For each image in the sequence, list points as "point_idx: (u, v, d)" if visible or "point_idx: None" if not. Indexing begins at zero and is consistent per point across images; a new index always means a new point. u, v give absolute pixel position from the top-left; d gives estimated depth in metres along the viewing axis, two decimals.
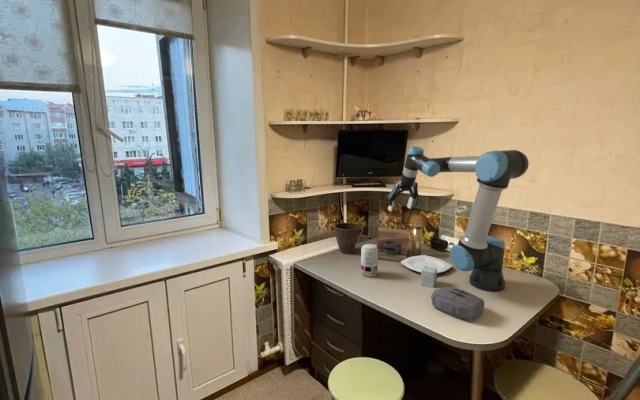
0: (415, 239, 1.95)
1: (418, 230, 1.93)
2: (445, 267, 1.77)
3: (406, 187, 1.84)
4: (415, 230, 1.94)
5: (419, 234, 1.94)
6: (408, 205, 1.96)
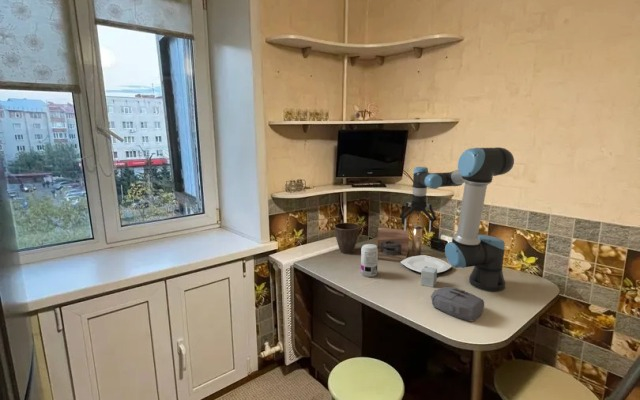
0: (415, 239, 1.95)
1: (418, 230, 1.93)
2: (445, 267, 1.77)
3: (416, 206, 1.91)
4: (415, 230, 1.94)
5: (419, 234, 1.94)
6: (429, 229, 1.94)
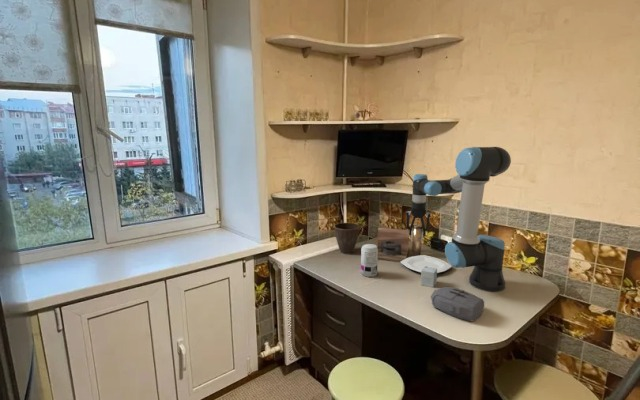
0: (415, 239, 1.95)
1: (418, 230, 1.93)
2: (445, 267, 1.77)
3: (415, 213, 1.92)
4: (415, 230, 1.94)
5: (419, 234, 1.94)
6: (421, 239, 1.96)
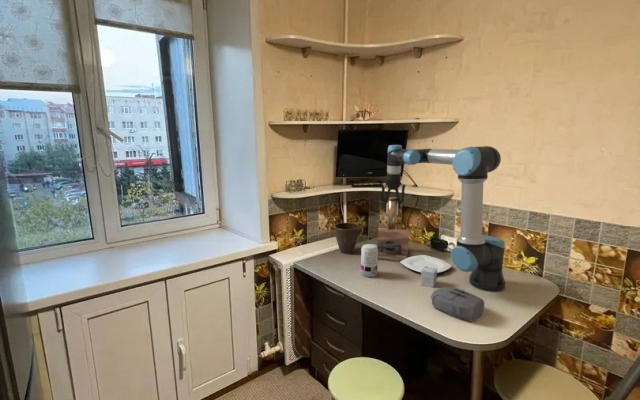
0: (390, 211, 1.92)
1: (393, 202, 1.91)
2: (445, 267, 1.77)
3: (390, 185, 1.90)
4: (390, 202, 1.92)
5: (394, 206, 1.91)
6: None
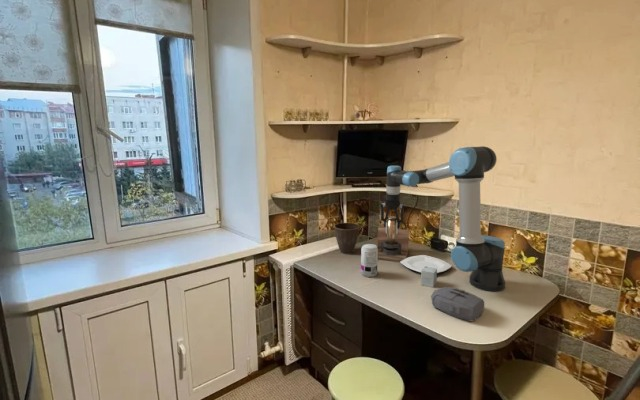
0: (389, 231, 1.95)
1: (392, 222, 1.93)
2: (445, 267, 1.77)
3: (389, 205, 1.92)
4: (389, 222, 1.94)
5: (393, 226, 1.94)
6: (396, 231, 1.96)
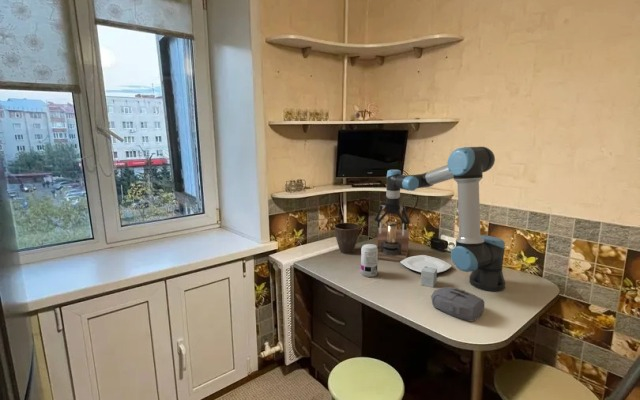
0: (389, 236, 1.95)
1: (392, 227, 1.94)
2: (445, 267, 1.77)
3: (389, 208, 1.92)
4: (389, 227, 1.94)
5: (393, 231, 1.94)
6: None
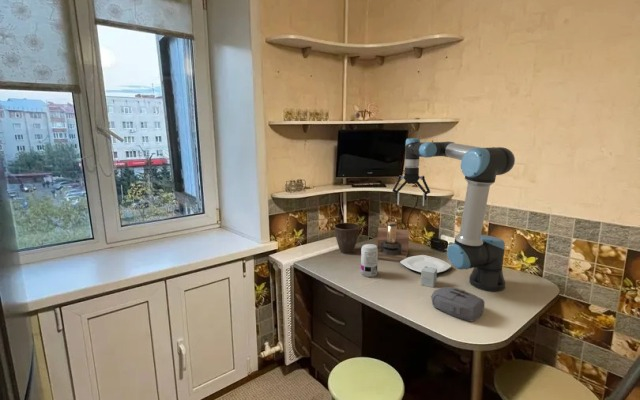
0: (389, 236, 1.95)
1: (392, 227, 1.94)
2: (444, 267, 1.77)
3: (408, 178, 1.87)
4: (389, 227, 1.94)
5: (393, 231, 1.94)
6: None
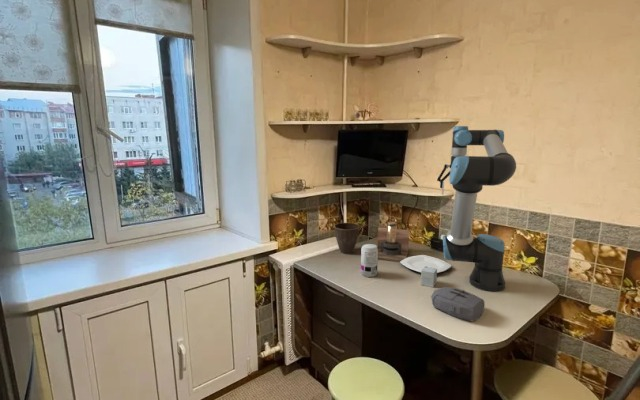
0: (389, 236, 1.95)
1: (392, 227, 1.94)
2: (444, 267, 1.77)
3: None
4: (389, 227, 1.94)
5: (393, 231, 1.94)
6: None
